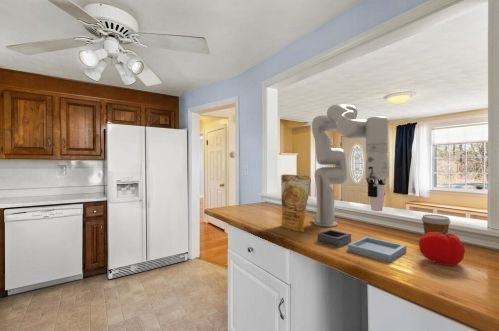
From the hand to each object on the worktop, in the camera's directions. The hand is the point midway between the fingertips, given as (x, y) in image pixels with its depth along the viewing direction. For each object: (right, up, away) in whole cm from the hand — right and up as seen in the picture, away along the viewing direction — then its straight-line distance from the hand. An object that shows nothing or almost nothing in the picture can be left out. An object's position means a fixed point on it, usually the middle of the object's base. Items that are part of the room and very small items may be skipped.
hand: (376, 195), depth 96 cm
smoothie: (0, -6, 0) cm, 6 cm away
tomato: (+17, -22, -10) cm, 29 cm away
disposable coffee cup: (+27, -21, +6) cm, 35 cm away
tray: (0, -22, 0) cm, 22 cm away
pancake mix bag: (-26, -22, +35) cm, 48 cm away
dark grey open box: (-12, -22, +12) cm, 28 cm away
